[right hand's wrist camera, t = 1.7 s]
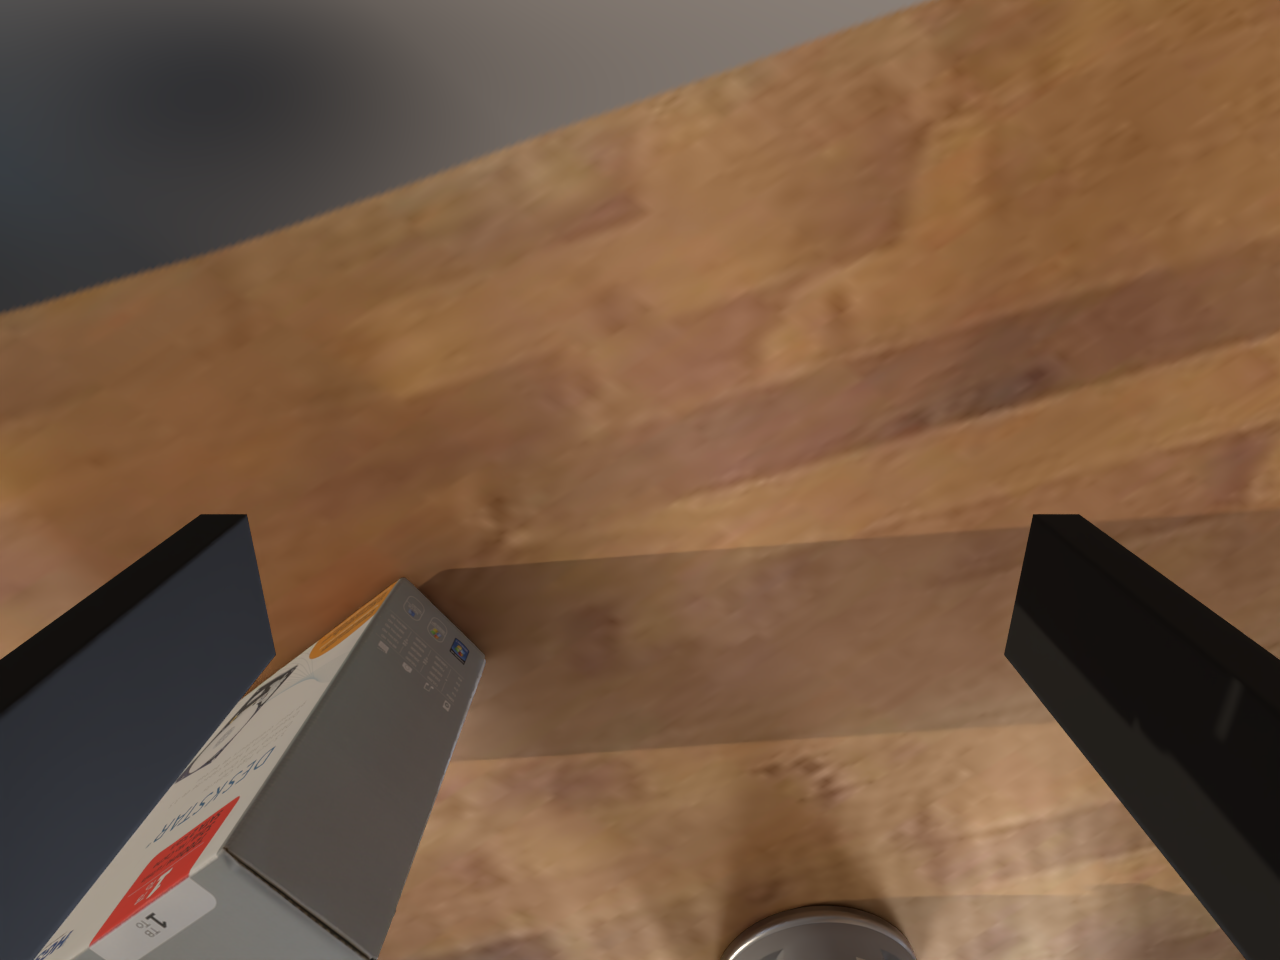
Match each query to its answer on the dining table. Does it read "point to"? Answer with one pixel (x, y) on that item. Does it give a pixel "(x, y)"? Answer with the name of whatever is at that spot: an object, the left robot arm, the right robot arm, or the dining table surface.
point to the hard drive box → (295, 804)
